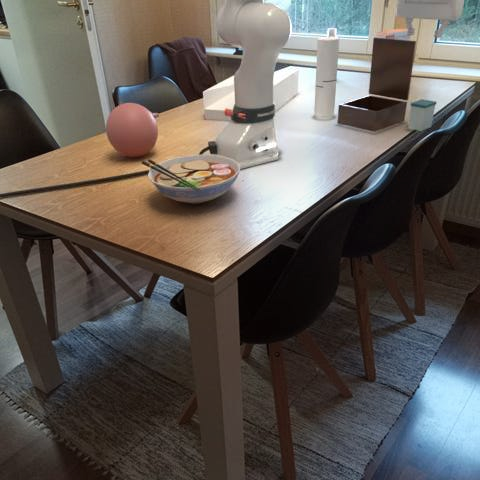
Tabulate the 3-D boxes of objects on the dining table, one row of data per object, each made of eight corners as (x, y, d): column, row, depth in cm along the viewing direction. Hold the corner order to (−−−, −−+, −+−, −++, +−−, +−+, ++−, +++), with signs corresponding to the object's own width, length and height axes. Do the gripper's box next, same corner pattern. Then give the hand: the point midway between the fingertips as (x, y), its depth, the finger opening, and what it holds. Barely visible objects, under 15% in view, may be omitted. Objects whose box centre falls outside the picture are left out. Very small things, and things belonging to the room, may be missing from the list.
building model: (249, 91, 215) (249, 67, 209) (297, 93, 207) (298, 68, 201) (205, 119, 182) (202, 91, 176) (260, 122, 175) (259, 94, 169)
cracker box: (394, 82, 215) (401, 27, 203) (404, 84, 211) (412, 28, 199) (370, 87, 210) (376, 31, 197) (380, 89, 206) (387, 32, 193)
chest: (374, 134, 158) (377, 112, 154) (337, 125, 168) (338, 104, 164) (404, 122, 167) (407, 101, 163) (366, 115, 176) (369, 95, 172)
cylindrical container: (333, 120, 173) (338, 40, 158) (313, 119, 175) (316, 40, 159) (334, 114, 179) (339, 36, 164) (314, 114, 180) (318, 37, 165)
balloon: (181, 148, 156) (175, 97, 147) (135, 167, 144) (126, 113, 134) (147, 141, 164) (139, 92, 154) (101, 159, 151) (90, 106, 142)
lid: (414, 41, 151) (423, 38, 153) (373, 37, 161) (381, 35, 163) (406, 100, 162) (414, 97, 164) (368, 93, 172) (376, 90, 174)
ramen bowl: (262, 200, 120) (262, 168, 115) (182, 228, 110) (178, 194, 105) (208, 173, 137) (206, 144, 132) (135, 195, 127) (129, 164, 122)
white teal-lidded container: (420, 133, 157) (425, 105, 151) (406, 130, 160) (410, 103, 155) (431, 129, 160) (436, 101, 155) (417, 126, 163) (422, 99, 158)
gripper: (395, -19, 144) (388, 35, 153) (459, -19, 132) (448, 40, 140) (408, -20, 148) (400, 32, 156) (471, -20, 135) (460, 37, 143)
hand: (423, 36), depth 148 cm, fingers open, 8 cm apart
